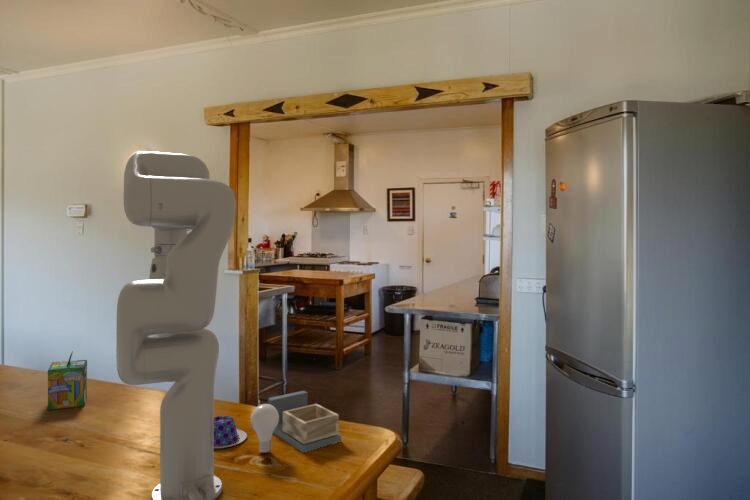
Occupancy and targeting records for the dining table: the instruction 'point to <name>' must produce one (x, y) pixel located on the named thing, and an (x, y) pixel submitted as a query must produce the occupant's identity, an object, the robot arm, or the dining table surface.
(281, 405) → the base
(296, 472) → the dining table surface
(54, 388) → the chalk box
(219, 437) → the pudding
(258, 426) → the lightbulb
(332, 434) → the box
